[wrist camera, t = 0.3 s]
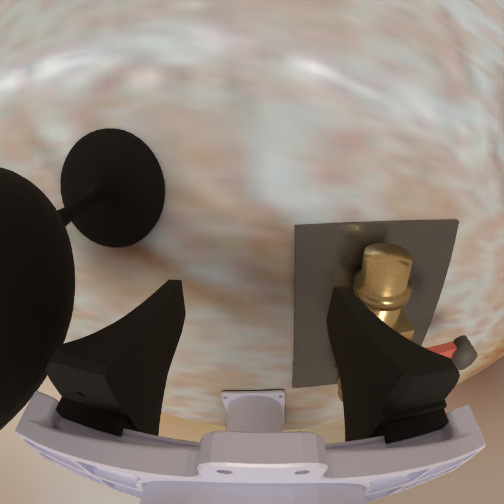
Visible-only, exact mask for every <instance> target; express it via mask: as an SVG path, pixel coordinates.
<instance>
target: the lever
mask: <svg viewBox="0 0 504 504" xmlns="http://www.w3.org/2000/svg"><path fill="white" fill-rule="evenodd" d="M426 349H428V350H430V351H433V352H435V353H438V354H441V355H443V356H446V357H449V358H451V359H452V360H453V361H454V363H455V365H456V367H457V369H458V370H463V369H465V368H467V367H468V366H470V365H471V364H472V363H473V362H474V360H475V359H476V357H477V352H476V351H475V349H474V348H473V346H472V345H471V343H470V341H469V340H468V338H467V337H466V336H465V335H463V336H460V337H458V338H456V339H455V340H454V341H453V342H449V343H445V344H441V345H437V346H433V347H429V348H426Z"/></svg>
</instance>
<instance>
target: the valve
mask: <svg viewBox="0 0 504 504" xmlns="http://www.w3.org/2000/svg"><path fill="white" fill-rule="evenodd" d="M458 224H459V221H458V220H406V221H374V222H348V223H326V224H305V225H295V332H294V364H293V388H300V387H311V386H320V385H329V384H337V385H338V396H339V398H340V399H341V401H343V396H342V389H341V382H340V377H339V372H338V369H337V365H336V362H335V358H334V355H333V351H332V348H331V344H330V340H329V336H328V330H327V323H326V318H327V314H328V310H329V306H330V302H331V297H332V293H333V289H334V287H347V288H348V289H349V290H350V291H351V292H352V293H353V294H354V295H355V296H356V297H357V298H358V299H359V300H360V301H361V302H362V303H363V304H364V305H365V306H366V307H368V308H369V309H370V310H371V311H372V312H373V313H374V314H375V315H376V316H377V317H379V318H380V319H381V320H382V321H383V322H385V323H386V324H387V325H388V326H390V327H391V328H392V329H394V330H395V331H397V332H398V333H399V334H401V335H403V336H404V337H406V338H407V339H409V340H411V341H413V342H414V343H416V344H418V345H420V346H421V345H422V342H423V340H424V338H425V335H426V333H427V330H428V328H429V325H430V322H431V320H432V317H433V314H434V311H435V309H436V306H437V303H438V300H439V297H440V294H441V291H442V287H443V284H444V281H445V277H446V274H447V270H448V267H449V263H450V259H451V255H452V251H453V247H454V243H455V238H456V234H457V229H458Z"/></svg>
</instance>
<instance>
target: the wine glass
mask: <svg viewBox="0 0 504 504" xmlns="http://www.w3.org/2000/svg"><path fill="white" fill-rule="evenodd" d="M164 192H165V190H164V180H163V175H162V171H161V169H160V166H159V163H158V161H157V159H156V158H155V156H154V154H153V153H152V151H151V150H150V149H149V148H148V146H147V145H146V144H145V143H144V142H143V141H142V140H140V139H139V138H138V137H136V136H135V135H133V134H131V133H129V132H127V131H124V130H120V129H101V130H96V131H94V132H91V133H89V134H87V135H86V136H84V137H82V138H81V139H80V140H79V141H78V142H77V143H76V144H75V145H74V146H73V147H72V149H71V150H70V152H69V154H68V155H67V157H66V160H65V162H64V165H63V169H62V173H61V195H62V200H63V204H64V208H62V209H60V210H56V208H55V207H54V205H53V204H52V203H51V201H50V200H49V199H48V198H47V197H46V195H45V194H44V193H43V192H42V191H41V190H40V189H39V188H38V187H36V186H35V185H34V184H33V183H31V182H30V181H29V180H27V179H26V178H24V177H22V176H20V175H19V174H17V173H15V172H13V171H10V170H7V169H4V168H0V430H1V429H2V428H3V427H4V426H5V425H6V424H7V423H8V422H9V421H10V420H11V419H13V417H14V416H15V415H16V414H17V413H18V412H19V411H20V410H21V409H22V408H23V407H24V406H25V405H26V403H27V402H28V401H29V400H30V399H31V397H32V396H33V394H34V392H35V391H37V390H38V388H39V387H40V385H41V384H42V382H43V381H44V380H45V378H46V376H47V371H46V366H47V364H48V362H49V360H50V359H51V357H52V356H53V354H54V352H55V351H56V349H57V348H58V346H59V345H61V344H63V343H64V340H65V338H66V335H67V331H68V328H69V324H70V321H71V317H72V312H73V305H74V295H75V268H74V259H73V253H72V248H71V243H70V239H69V236H68V233H67V230H66V228H65V227H66V226H67V225H68V224H69V223H70V222H71V221H72V223H73V224H74V225H75V226H76V228H77V229H78V230H79V231H80V232H81V233H82V234H83V235H84V236H86V237H87V238H88V239H90V240H92V241H94V242H96V243H98V244H101V245H103V246H108V247H125V246H129V245H132V244H135V243H136V242H138V241H140V240H142V239H143V238H144V237H145V236H146V235H147V234H148V233H149V232H150V231H151V230H152V229H153V227H154V226H155V224H156V223H157V221H158V219H159V217H160V214H161V211H162V208H163V203H164Z"/></svg>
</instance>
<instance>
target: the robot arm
mask: <svg viewBox="0 0 504 504" xmlns="http://www.w3.org/2000/svg"><path fill="white" fill-rule="evenodd" d="M185 314H186V313H185V306H184V298H183V289H182V280H168V281H167V282H166V283H165V284H164V285H162V286H161V287H160V288H159V289H158V290H157V291H156V292H155V293H153V294H152V295H151V296H150V297H149V298H148V299H147V300H145V301H144V302H143V303H142V304H140V305H139V306H138V307H136V308H135V309H134V310H133V311H131V312H130V313H129V314H127V315H126V316H124V317H123V318H121V319H120V320H118V321H116V322H115V323H113V324H111V325H109V326H107V327H105V328H103V329H102V330H100V331H98V332H95V333H93V334H91V335H88V336H86V337H83V338H81V339H78V340H75V341H71V342H68V343H65V344H61V345H59V346H58V348H57V349H56V351H55V352H54V354H53V356H52V357H51V359H50V360H49V362H48V364H47V366H46V371H47V375H48V377H49V378H50V380H51V382H52V383H53V385H54V386H55V387H56V389H57V390H58V392H59V393H60V394H61V396H62V398H61V400H60V402H59V401H57V400H56V399H55V398H53V397H50V396H48V395H45V394H43V393H41V392H38V391H35V392H34V394H33V396H32V398H31V400H30V402H29V404H28V406H27V407H26V409H25V412H24V413H23V415H22V417H21V419H20V422H19V424H18V426H17V428H16V430H15V433H16V434H17V435H18V436H19V437H20V438H21V439H22V440H24V441H25V442H26V443H27V444H28V445H29V446H30V447H32V448H33V449H34V450H35V451H37V452H38V453H39V454H40V455H41V456H43V457H44V458H46V459H48V460H50V461H52V462H53V463H55V464H58V465H60V466H62V467H64V468H66V469H68V470H70V471H72V472H74V473H76V474H79V475H81V476H83V477H85V478H88V479H90V480H92V481H95V482H97V483H99V484H102V485H104V486H107V487H110V488H112V489H115V490H118V491H120V492H123V493H126V494H129V495H133V496H135V497H139V498H141V502H140V504H366V502H368V501H372V500H375V499H379V498H382V497H385V496H389V495H391V494H395V493H397V492H400V491H403V490H406V489H409V488H412V487H414V486H417V485H419V484H422V483H424V482H427V481H429V480H432V479H434V478H437V477H439V476H441V475H443V474H446V473H448V472H450V471H453V470H455V469H456V468H457V467H459V466H460V465H462V464H463V463H465V462H466V461H467V460H469V459H470V458H471V457H473V456H474V455H475V454H476V453H478V452H479V451H480V450H482V449H483V448H484V447H485V445H486V444H485V441H484V439H483V437H482V434H481V432H480V429H479V427H478V424H477V422H476V420H475V418H474V415H473V413H472V411H471V409H470V406H469V405H466V406H463V407H460V408H457V409H454V410H452V411H450V412H448V413H447V414H446V413H445V411H444V408H445V407H446V402H445V400H444V399H445V398H446V397H447V396H448V394H449V393H450V392H451V391H452V389H453V388H454V387H455V385H456V384H457V382H458V379H459V376H460V375H459V371H458V369H457V367H456V366H455V364H454V362H453V360H452V359H451V358H449V357H446V356H443V355H441V354H438V353H435V352H433V351H430V350H428V349H426V348H424V347H422V346H420V345H418V344H416V343H414V342H413V341H411V340H409V339H407V338H406V337H404V336H403V335H401V334H399V333H398V332H397V331H395V330H394V329H392V328H391V327H390V326H388V325H387V324H386V323H385V322H383V321H382V320H381V319H380V318H379V317H377V316H376V315H375V314H374V313H373V312H372V311H371V310H370V309H369V308H368V307H366V306H365V305H364V304H363V303H362V302H361V301H360V300H359V299H358V298H357V297H356V296H355V295H354V294H353V293H352V292H351V291H350V290H349V289H348V288H347V287H334V289H333V293H332V297H331V302H330V306H329V310H328V314H327V318H326V323H327V330H328V336H329V340H330V344H331V348H332V351H333V355H334V358H335V362H336V365H337V369H338V372H339V377H340V382H341V389H342V396H343V406H344V418H345V442H340V443H331V444H325V441H324V437H323V436H321V435H318V434H316V433H314V432H301V431H299V432H283V427H282V424H284V408H285V392H284V391H283V390H271V391H224V392H222V393H221V397H222V400H223V403H224V406H225V410H226V413H227V421H226V431H214V432H211V433H208V434H205V435H204V436H203V437H202V439H201V442H192V441H185V440H178V439H172V438H166V437H161V436H158V433H159V423H160V415H161V408H162V402H163V396H164V390H165V385H166V380H167V375H168V371H169V368H170V365H171V362H172V359H173V356H174V353H175V350H176V347H177V345H178V342H179V339H180V336H181V333H182V329H183V324H184V319H185Z"/></svg>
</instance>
